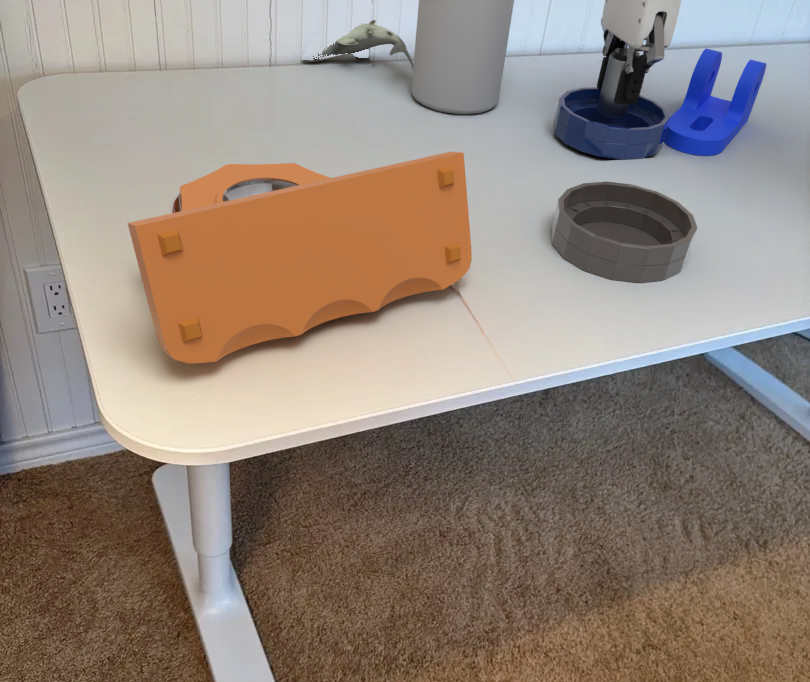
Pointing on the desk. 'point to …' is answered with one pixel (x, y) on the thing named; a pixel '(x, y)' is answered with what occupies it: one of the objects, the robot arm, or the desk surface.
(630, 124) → the blue bowl
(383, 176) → the desk clock
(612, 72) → the shaker
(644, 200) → the grey bowl
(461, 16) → the cylinder vase
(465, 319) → the desk surface
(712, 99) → the bracket
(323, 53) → the grey-green dolphin figure
